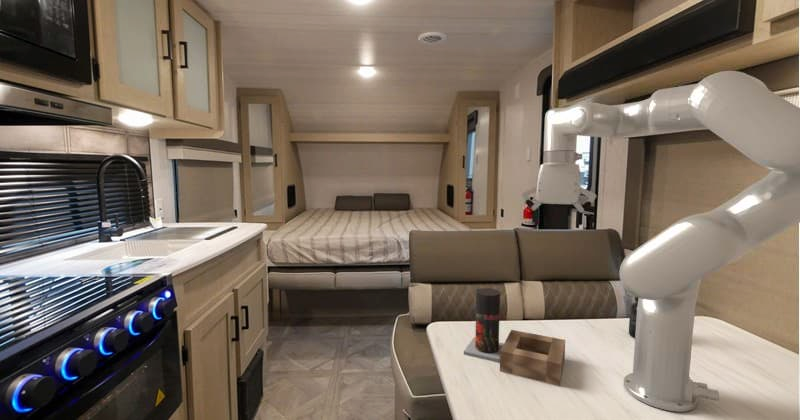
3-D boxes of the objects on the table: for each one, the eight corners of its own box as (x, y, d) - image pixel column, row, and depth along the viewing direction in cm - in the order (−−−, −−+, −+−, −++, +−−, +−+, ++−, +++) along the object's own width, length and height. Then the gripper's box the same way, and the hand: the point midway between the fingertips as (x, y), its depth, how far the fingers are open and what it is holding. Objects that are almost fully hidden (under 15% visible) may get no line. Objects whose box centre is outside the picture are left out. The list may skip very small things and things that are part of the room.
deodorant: (501, 353, 94) (502, 295, 92) (477, 353, 94) (478, 295, 92) (495, 342, 99) (496, 288, 98) (473, 342, 100) (474, 288, 98)
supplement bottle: (662, 343, 100) (665, 300, 99) (634, 341, 102) (637, 298, 100) (650, 332, 107) (653, 292, 106) (624, 330, 108) (626, 290, 107)
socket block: (564, 359, 92) (565, 339, 92) (560, 386, 81) (561, 364, 80) (510, 347, 98) (511, 329, 98) (499, 371, 87) (500, 350, 86)
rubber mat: (507, 347, 99) (507, 344, 99) (499, 362, 91) (499, 359, 91) (473, 340, 103) (473, 337, 103) (463, 354, 95) (463, 351, 95)
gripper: (598, 158, 93) (594, 226, 95) (525, 159, 101) (523, 222, 103) (598, 157, 86) (594, 230, 88) (521, 159, 94) (519, 226, 96)
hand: (556, 226), depth 95 cm, fingers open, 9 cm apart
